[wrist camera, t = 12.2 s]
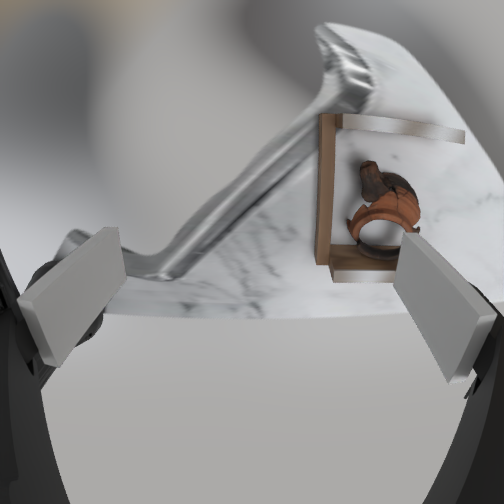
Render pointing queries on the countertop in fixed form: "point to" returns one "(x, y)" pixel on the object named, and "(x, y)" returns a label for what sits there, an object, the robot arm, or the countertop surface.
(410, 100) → the countertop surface
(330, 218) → the wooden stand
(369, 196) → the pottery mug
